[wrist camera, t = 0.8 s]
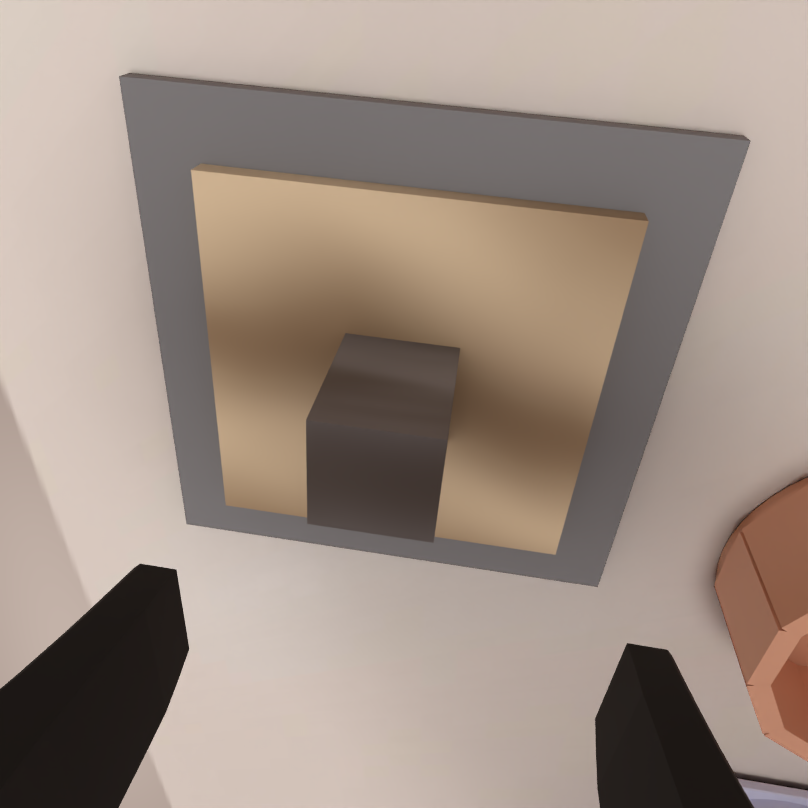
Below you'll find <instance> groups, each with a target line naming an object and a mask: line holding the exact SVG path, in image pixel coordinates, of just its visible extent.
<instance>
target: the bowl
mask: <svg viewBox="0 0 808 808" xmlns="http://www.w3.org/2000/svg"><path fill="white" fill-rule="evenodd" d="M714 584H715V586H714V587H715V590H716V593H717V596H718V599H719V602H720V605H721V609H722V612H723V615H724V618H725V621H726V624H727V627H728V630H729V634H730V637H731V640H732V643H733V646H734V649H735V652H736V655H737V658H738V662H739V665H740V668H741V671H742V674H743V677H744V680H745V683H746V687H747V689H748V692H749V695H750V698H751V701H752V704H753V707H754V710H755V713H756V716H757V718H758V721H759V724H760V727H761V730H762V733H763V734H764V736H766V737H768V738H769V739H771V740H773V741H774V742H776V743H778V744H779V745H781V746H783V747H784V748H786V749H788V750H789V751H791V752H793V753H794V754H796V755H798V756H799V757H801V758H803V759H804V760H806V761H807V762H808V477H807V478H805V479H803V480H801V481H799V482H797V483H795V484H793V485H791V486H789V487H787V488H785V489H784V490H782V491H780V492H779V493H777V494H775V495H774V496H772V497H771V498H769V499H768V500H767V501H765V502H764V503H763V504H761V505H760V506H759V507H757V508H756V509H755V510H754V511H753V512H752V513H751V514H750V515H749V516H748V517H746V518H745V519H744V520H743V521H742V522H741V524H740V525H739V526H738V527H737V529H736V530H735V531H734V532H733V534H732V535H731V536H730V538H729V540H728V542H727V543H726V545H725V547H724V548H723V551H722V554H721V556H720V559H719V562H718V567H717V572H716V581H715V583H714Z"/></svg>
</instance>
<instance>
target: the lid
mask: <svg viewBox="0 0 808 808" xmlns="http://www.w3.org/2000/svg"><path fill="white" fill-rule="evenodd" d="M191 176H192V185H193V195H194V204H195V214H196V224H197V233H198V243H199V253H200V262H201V272H202V281H203V291H204V301H205V310H206V320H207V329H208V339H209V349H210V358H211V368H212V377H213V387H214V397H215V406H216V416H217V425H218V435H219V445H220V454H221V464H222V473H223V483H224V493H225V502H226V505H227V506H234V507H241V508H247V509H254V510H261V511H267V512H274V513H281V514H287V515H294V516H300V517H307V524H311V525H318V526H324V527H331V528H338V529H344V530H351V531H358V532H364V533H371V534H377V535H384V536H391V537H397V538H404V539H411V540H417V541H424V542H430V543H434V537H440V538H447V539H454V540H460V541H467V542H473V543H480V544H487V545H493V546H500V547H507V548H513V549H520V550H527V551H533V552H540V553H547V554H553V555H556V551H557V548H558V544H559V541H560V537H561V533H562V530H563V526H564V523H565V519H566V516H567V512H568V508H569V505H570V501H571V498H572V494H573V491H574V487H575V483H576V480H577V476H578V473H579V469H580V466H581V462H582V458H583V455H584V451H585V448H586V444H587V441H588V437H589V433H590V430H591V426H592V423H593V419H594V416H595V412H596V408H597V405H598V401H599V398H600V394H601V391H602V387H603V383H604V380H605V376H606V373H607V369H608V366H609V362H610V358H611V355H612V351H613V348H614V344H615V341H616V337H617V333H618V330H619V326H620V323H621V319H622V316H623V312H624V308H625V305H626V301H627V298H628V294H629V291H630V287H631V283H632V280H633V276H634V273H635V269H636V266H637V262H638V258H639V255H640V251H641V248H642V244H643V241H644V237H645V233H646V230H647V226H648V223H649V221H648V219H647V217H646V215H645V213H640V212H631V211H622V210H613V209H604V208H595V207H586V206H577V205H568V204H559V203H550V202H541V201H532V200H523V199H514V198H505V197H496V196H487V195H478V194H469V193H460V192H451V191H442V190H433V189H424V188H416V187H407V186H398V185H389V184H380V183H371V182H362V181H353V180H344V179H335V178H326V177H317V176H308V175H299V174H290V173H281V172H272V171H263V170H254V169H245V168H236V167H227V166H218V165H209V164H199V165H198V166H196V167H195V168H193V169H192V170H191Z"/></svg>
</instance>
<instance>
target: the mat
mask: <svg viewBox="0 0 808 808" xmlns="http://www.w3.org/2000/svg"><path fill="white" fill-rule="evenodd" d="M119 79H120V86H121V92H122V99H123V106H124V112H125V119H126V125H127V132H128V139H129V145H130V152H131V159H132V165H133V172H134V178H135V185H136V192H137V198H138V205H139V212H140V218H141V225H142V231H143V238H144V245H145V251H146V258H147V264H148V271H149V278H150V284H151V291H152V298H153V304H154V311H155V317H156V324H157V331H158V337H159V344H160V351H161V357H162V364H163V370H164V377H165V384H166V390H167V397H168V403H169V410H170V417H171V423H172V430H173V437H174V443H175V450H176V456H177V463H178V470H179V476H180V483H181V490H182V496H183V503H184V509H185V516H186V523H187V524H190V525H196V526H203V527H209V528H216V529H223V530H229V531H236V532H242V533H249V534H255V535H262V536H268V537H275V538H281V539H288V540H294V541H301V542H307V543H314V544H321V545H327V546H334V547H340V548H347V549H353V550H360V551H366V552H373V553H379V554H386V555H392V556H399V557H405V558H412V559H418V560H425V561H432V562H438V563H445V564H451V565H458V566H464V567H471V568H477V569H484V570H490V571H497V572H503V573H510V574H516V575H523V576H529V577H536V578H543V579H549V580H556V581H562V582H569V583H575V584H582V585H588V586H595V587H598V584H599V582H600V579H601V576H602V573H603V570H604V567H605V564H606V561H607V558H608V555H609V552H610V549H611V547H612V544H613V541H614V538H615V535H616V532H617V529H618V526H619V523H620V520H621V517H622V514H623V512H624V509H625V506H626V503H627V500H628V497H629V494H630V491H631V488H632V485H633V482H634V479H635V477H636V474H637V471H638V468H639V465H640V462H641V459H642V456H643V453H644V450H645V447H646V444H647V442H648V439H649V436H650V433H651V430H652V427H653V424H654V421H655V418H656V415H657V412H658V409H659V407H660V404H661V401H662V398H663V395H664V392H665V389H666V386H667V383H668V380H669V377H670V374H671V372H672V369H673V366H674V363H675V360H676V357H677V354H678V351H679V348H680V345H681V342H682V339H683V337H684V334H685V331H686V328H687V325H688V322H689V319H690V316H691V313H692V310H693V307H694V304H695V302H696V299H697V296H698V293H699V290H700V287H701V284H702V281H703V278H704V275H705V272H706V269H707V267H708V264H709V261H710V258H711V255H712V252H713V249H714V246H715V243H716V240H717V237H718V234H719V232H720V229H721V226H722V223H723V220H724V217H725V214H726V211H727V208H728V205H729V202H730V199H731V197H732V194H733V191H734V188H735V185H736V182H737V179H738V176H739V173H740V170H741V167H742V164H743V162H744V159H745V156H746V153H747V150H748V147H749V144H750V140H749V139H747V138H746V137H745V136H740V135H730V134H720V133H710V132H700V131H691V130H681V129H671V128H661V127H651V126H642V125H632V124H622V123H612V122H602V121H592V120H583V119H573V118H563V117H553V116H543V115H534V114H524V113H514V112H504V111H494V110H485V109H475V108H465V107H455V106H445V105H436V104H426V103H416V102H406V101H396V100H387V99H377V98H367V97H357V96H347V95H338V94H328V93H318V92H308V91H298V90H289V89H279V88H269V87H259V86H249V85H240V84H230V83H220V82H210V81H200V80H191V79H181V78H171V77H161V76H151V75H141V74H132V73H129V74H125V75H122V76H119ZM199 164H209V165H218V166H227V167H236V168H245V169H254V170H263V171H272V172H281V173H290V174H299V175H308V176H317V177H326V178H335V179H344V180H353V181H362V182H371V183H380V184H389V185H398V186H407V187H416V188H424V189H433V190H442V191H451V192H460V193H469V194H478V195H487V196H496V197H505V198H514V199H523V200H532V201H541V202H550V203H559V204H568V205H577V206H586V207H595V208H604V209H613V210H622V211H631V212H640V213H645V215H646V217H647V219H648V221H649V223H648V226H647V230H646V233H645V237H644V241H643V244H642V248H641V251H640V255H639V258H638V262H637V266H636V269H635V273H634V276H633V280H632V283H631V287H630V291H629V294H628V298H627V301H626V305H625V308H624V312H623V316H622V319H621V323H620V326H619V330H618V333H617V337H616V341H615V344H614V348H613V351H612V355H611V358H610V362H609V366H608V369H607V373H606V376H605V380H604V383H603V387H602V391H601V394H600V398H599V401H598V405H597V408H596V412H595V416H594V419H593V423H592V426H591V430H590V433H589V437H588V441H587V444H586V448H585V451H584V455H583V458H582V462H581V466H580V469H579V473H578V476H577V480H576V483H575V487H574V491H573V494H572V498H571V501H570V505H569V508H568V512H567V516H566V519H565V523H564V526H563V530H562V533H561V537H560V541H559V544H558V548H557V551H556V555H553V554H547V553H540V552H533V551H527V550H520V549H513V548H507V547H500V546H493V545H487V544H480V543H473V542H467V541H460V540H454V539H447V538H440V537H434V543H430V542H424V541H417V540H411V539H404V538H397V537H391V536H384V535H377V534H371V533H364V532H358V531H351V530H344V529H338V528H331V527H324V526H318V525H311V524H307V517H300V516H294V515H287V514H281V513H274V512H267V511H261V510H254V509H247V508H241V507H234V506H227V505H226V502H225V493H224V483H223V473H222V464H221V454H220V445H219V435H218V425H217V416H216V406H215V397H214V387H213V377H212V368H211V358H210V349H209V339H208V329H207V320H206V310H205V301H204V291H203V281H202V272H201V262H200V253H199V243H198V233H197V224H196V214H195V204H194V195H193V185H192V176H191V170H192V169H193V168H195V167H196V166H198V165H199Z"/></svg>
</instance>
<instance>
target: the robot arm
mask: <svg viewBox="0 0 808 808" xmlns="http://www.w3.org/2000/svg"><path fill="white" fill-rule="evenodd" d="M188 651H189V645H188V639H187V633H186V626H185V620H184V614H183V608H182V602H181V596H180V589H179V583H178V577H177V571H176V570H175V569H169V568H163V567H157V566H151V565H144V564H139V565H138V566H136V567H135V568H134V569H133V570H132V571H130V572H129V573H128V574H127V575H126V576H125V577H124V578H123V579H122V580H121V581H120V582H119V583H118V584H117V585H116V586H114V587H113V588H112V589H111V590H110V591H109V592H108V593H107V594H106V595H105V596H104V597H103V598H102V599H101V600H100V601H99V602H97V603H96V604H95V605H94V606H93V607H92V608H91V609H90V610H89V611H88V612H87V613H86V614H85V615H83V616H82V617H81V618H80V619H79V620H78V621H77V622H76V623H75V624H74V625H73V626H72V627H70V628H69V629H68V630H67V631H66V632H65V633H64V634H63V635H62V636H61V637H59V638H58V639H57V640H56V641H55V642H54V643H53V644H52V645H50V646H49V647H48V648H47V649H46V650H45V651H44V652H42V653H41V654H40V655H39V656H38V657H37V658H36V659H34V660H33V661H32V662H31V663H30V664H29V665H28V666H26V667H25V668H24V669H23V670H22V671H21V672H20V673H18V674H17V675H16V676H15V677H14V678H13V679H11V680H10V681H9V682H8V683H7V684H6V685H5V686H3V687H2V688H1V689H0V808H119V806H120V804H121V801H122V799H123V798H124V796H125V794H126V792H127V789H128V788H129V786H130V783H131V782H132V779H133V778H134V776H135V774H136V772H137V770H138V768H139V766H140V764H141V762H142V760H143V758H144V755H145V754H146V752H147V750H148V748H149V746H150V744H151V741H152V739H153V737H154V735H155V733H156V731H157V729H158V727H159V725H160V723H161V721H162V719H163V717H164V715H165V713H166V711H167V708H168V705H169V703H170V700H171V697H172V695H173V692H174V690H175V687H176V684H177V682H178V679H179V676H180V673H181V670H182V668H183V665H184V662H185V659H186V656H187V654H188ZM595 726H596V762H597V785H598V795H599V803H600V808H808V790H802V789H796V788H790V787H785V786H779V785H773V784H767V783H761V782H755V781H750V780H744V779H738V778H737V777H736V776H735V774H734V772H733V770H732V769H731V767H730V765H729V763H728V761H727V760H726V758H725V756H724V754H723V753H722V751H721V749H720V747H719V745H718V743H717V742H716V740H715V738H714V736H713V734H712V732H711V730H710V729H709V727H708V725H707V723H706V721H705V719H704V717H703V715H702V714H701V712H700V710H699V708H698V706H697V704H696V702H695V700H694V698H693V696H692V694H691V692H690V690H689V689H688V687H687V685H686V683H685V681H684V679H683V677H682V675H681V673H680V671H679V669H678V667H677V665H676V663H675V661H674V659H673V657H672V655H671V654H670V653H669V651H668V650H665V649H659V648H653V647H647V646H640V645H634V644H628V643H627V645H626V647H625V649H624V652H623V654H622V657H621V659H620V661H619V664H618V666H617V668H616V671H615V673H614V675H613V678H612V680H611V683H610V685H609V687H608V690H607V692H606V694H605V697H604V699H603V702H602V704H601V706H600V709H599V711H598V713H597V716H596V718H595Z"/></svg>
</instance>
